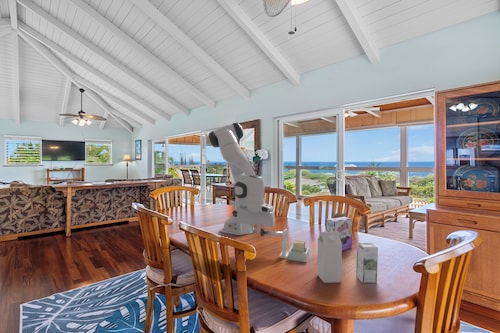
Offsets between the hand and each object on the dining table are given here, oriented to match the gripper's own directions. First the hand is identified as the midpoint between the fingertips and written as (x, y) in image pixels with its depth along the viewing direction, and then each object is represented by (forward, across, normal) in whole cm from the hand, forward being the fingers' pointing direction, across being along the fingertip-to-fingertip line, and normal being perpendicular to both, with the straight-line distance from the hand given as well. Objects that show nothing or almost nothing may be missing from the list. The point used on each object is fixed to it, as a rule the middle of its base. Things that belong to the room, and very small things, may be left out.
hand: (255, 233), depth 132 cm
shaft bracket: (+10, +20, +1) cm, 22 cm away
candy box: (+10, +40, +21) cm, 46 cm away
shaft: (+1, +10, 0) cm, 10 cm away
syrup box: (+10, +52, -13) cm, 54 cm away
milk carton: (+10, +38, -17) cm, 43 cm away
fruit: (+10, +40, +44) cm, 60 cm away
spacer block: (+10, +22, +1) cm, 24 cm away
